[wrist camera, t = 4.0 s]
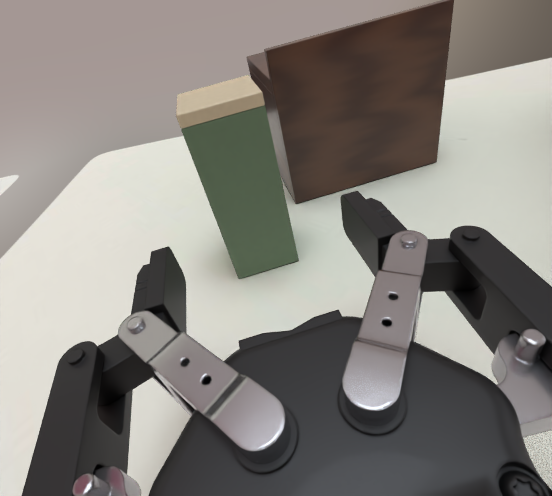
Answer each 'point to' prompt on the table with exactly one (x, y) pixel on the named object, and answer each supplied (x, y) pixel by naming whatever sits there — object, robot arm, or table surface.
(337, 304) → the table surface
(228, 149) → the carton
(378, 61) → the shelf
